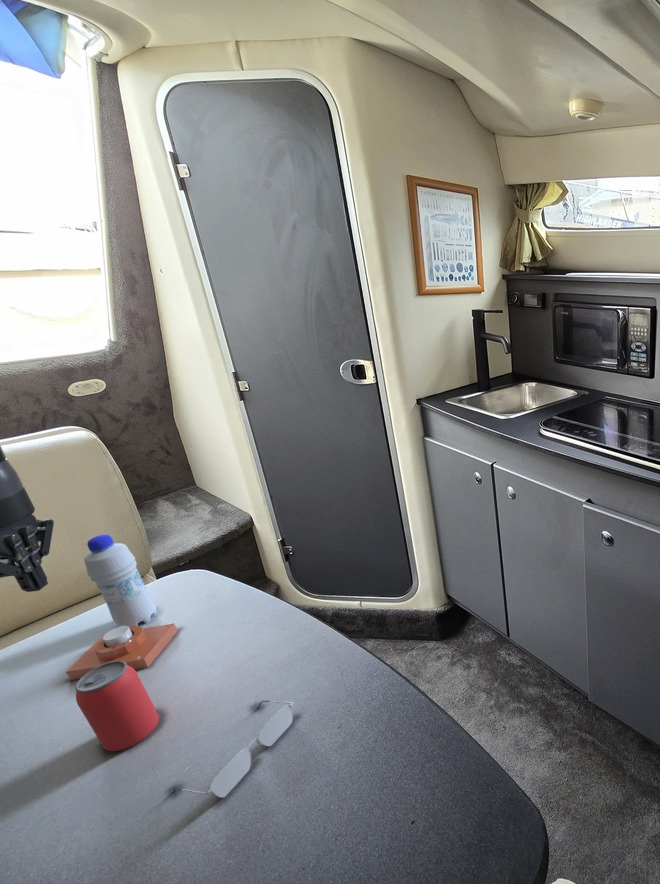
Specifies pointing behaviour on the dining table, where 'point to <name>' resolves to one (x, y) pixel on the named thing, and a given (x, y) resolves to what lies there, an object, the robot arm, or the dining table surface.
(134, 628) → the orange button base
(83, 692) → the beer can
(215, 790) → the eyeglasses
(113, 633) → the white push button
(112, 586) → the bottle
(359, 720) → the dining table surface
